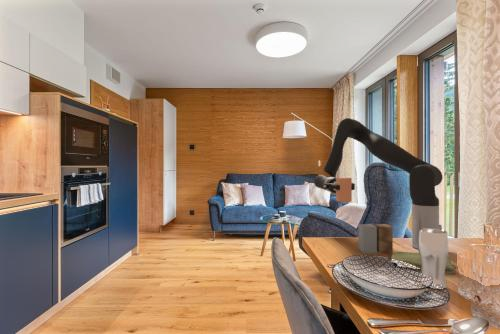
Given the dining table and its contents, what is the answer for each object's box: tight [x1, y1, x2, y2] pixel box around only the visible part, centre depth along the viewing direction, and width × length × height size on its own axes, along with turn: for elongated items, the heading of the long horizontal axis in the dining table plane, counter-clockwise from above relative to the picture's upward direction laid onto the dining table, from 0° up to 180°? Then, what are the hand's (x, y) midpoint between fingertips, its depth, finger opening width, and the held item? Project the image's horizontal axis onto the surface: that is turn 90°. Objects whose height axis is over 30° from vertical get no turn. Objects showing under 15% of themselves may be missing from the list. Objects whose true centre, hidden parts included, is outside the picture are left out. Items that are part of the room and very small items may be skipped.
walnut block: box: [372, 223, 394, 254], centre depth 108 cm, size 5×5×10 cm
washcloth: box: [390, 251, 456, 275], centre depth 93 cm, size 13×18×3 cm
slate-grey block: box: [357, 223, 378, 254], centre depth 108 cm, size 5×5×10 cm
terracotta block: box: [335, 177, 353, 203], centre depth 120 cm, size 5×5×10 cm
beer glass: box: [418, 228, 449, 288], centre depth 77 cm, size 7×7×15 cm
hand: (345, 187), depth 117 cm, fingers closed on terracotta block, 5 cm apart
